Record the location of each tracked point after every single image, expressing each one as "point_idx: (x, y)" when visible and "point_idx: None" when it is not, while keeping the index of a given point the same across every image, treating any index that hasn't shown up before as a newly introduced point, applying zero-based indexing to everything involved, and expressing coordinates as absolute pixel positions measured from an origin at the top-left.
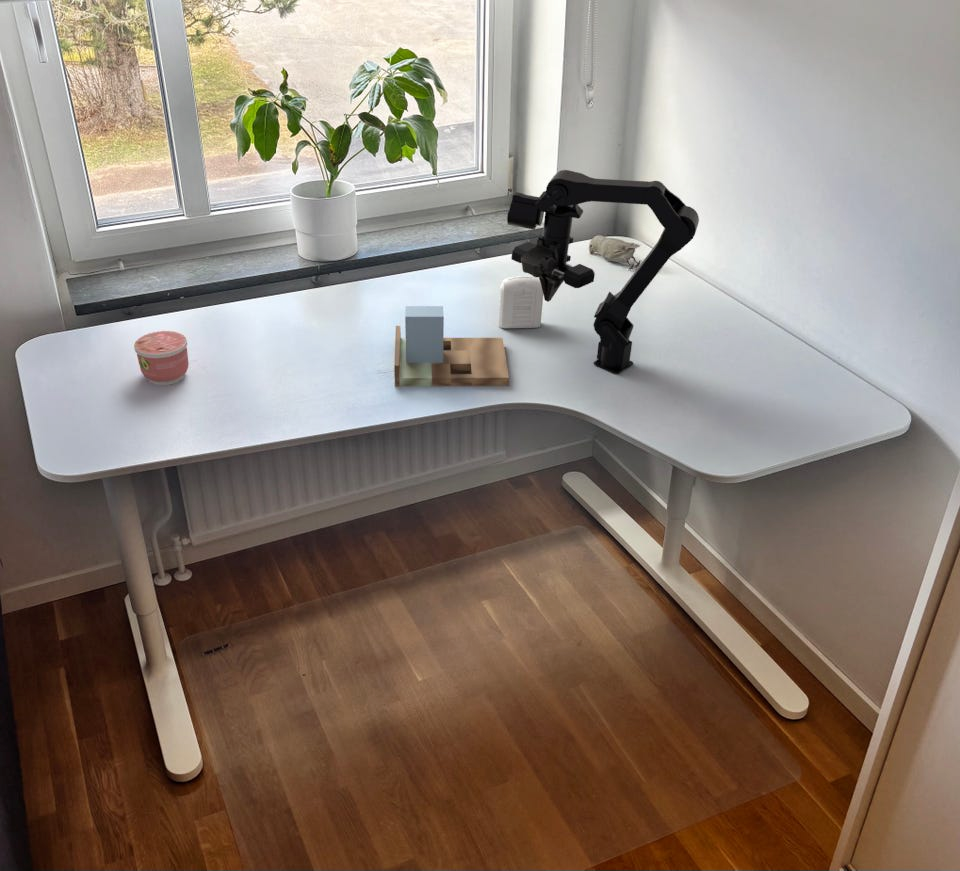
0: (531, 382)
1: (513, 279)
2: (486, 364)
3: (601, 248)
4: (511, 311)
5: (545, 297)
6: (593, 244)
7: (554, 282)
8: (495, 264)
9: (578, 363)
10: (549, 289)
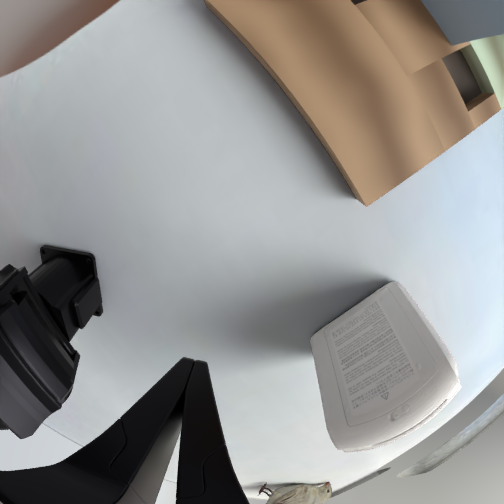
0: (160, 60)
1: (432, 409)
2: (313, 19)
3: (312, 494)
4: (392, 323)
5: (196, 375)
6: (325, 494)
7: (43, 471)
8: (439, 420)
9: (121, 238)
10: (132, 426)
